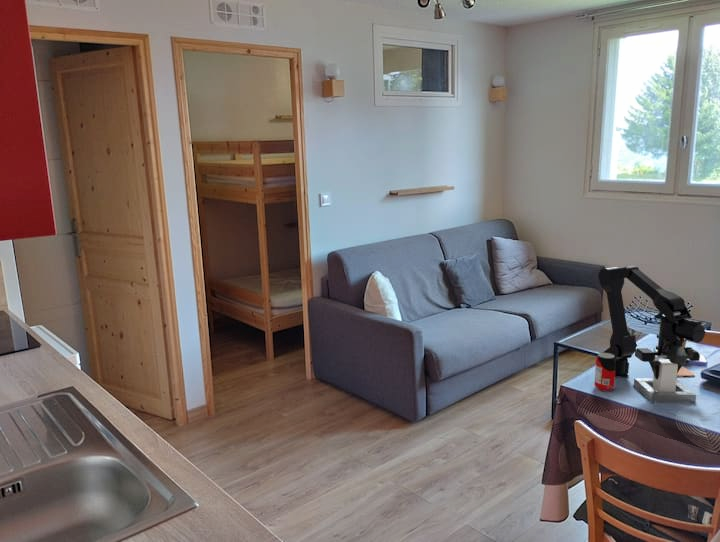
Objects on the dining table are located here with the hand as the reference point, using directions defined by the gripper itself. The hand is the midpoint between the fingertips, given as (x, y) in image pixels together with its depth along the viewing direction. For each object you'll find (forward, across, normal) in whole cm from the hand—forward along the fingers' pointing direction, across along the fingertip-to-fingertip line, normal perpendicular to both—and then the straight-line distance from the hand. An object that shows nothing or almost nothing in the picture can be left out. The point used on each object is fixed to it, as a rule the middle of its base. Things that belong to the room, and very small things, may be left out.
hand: (664, 378), depth 189 cm
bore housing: (+5, 0, 0) cm, 5 cm away
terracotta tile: (+5, +14, +18) cm, 24 cm away
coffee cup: (+5, +23, +36) cm, 43 cm away
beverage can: (+5, -18, +5) cm, 19 cm away
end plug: (+4, 0, 0) cm, 4 cm away
